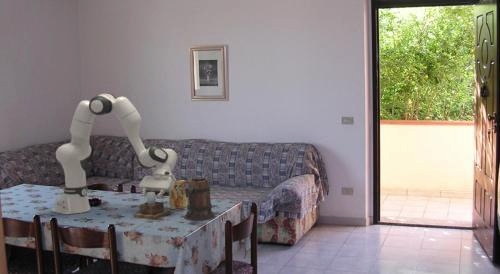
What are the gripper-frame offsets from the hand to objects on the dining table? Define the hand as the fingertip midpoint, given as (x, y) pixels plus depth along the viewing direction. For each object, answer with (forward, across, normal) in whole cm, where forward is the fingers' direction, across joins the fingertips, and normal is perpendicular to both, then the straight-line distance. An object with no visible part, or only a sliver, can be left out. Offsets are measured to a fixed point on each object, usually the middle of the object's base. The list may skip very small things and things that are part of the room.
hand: (151, 196), depth 297 cm
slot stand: (+7, 0, +8) cm, 10 cm away
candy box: (-7, +3, +22) cm, 23 cm away
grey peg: (+6, 0, +6) cm, 9 cm away
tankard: (+5, +27, +10) cm, 29 cm away
